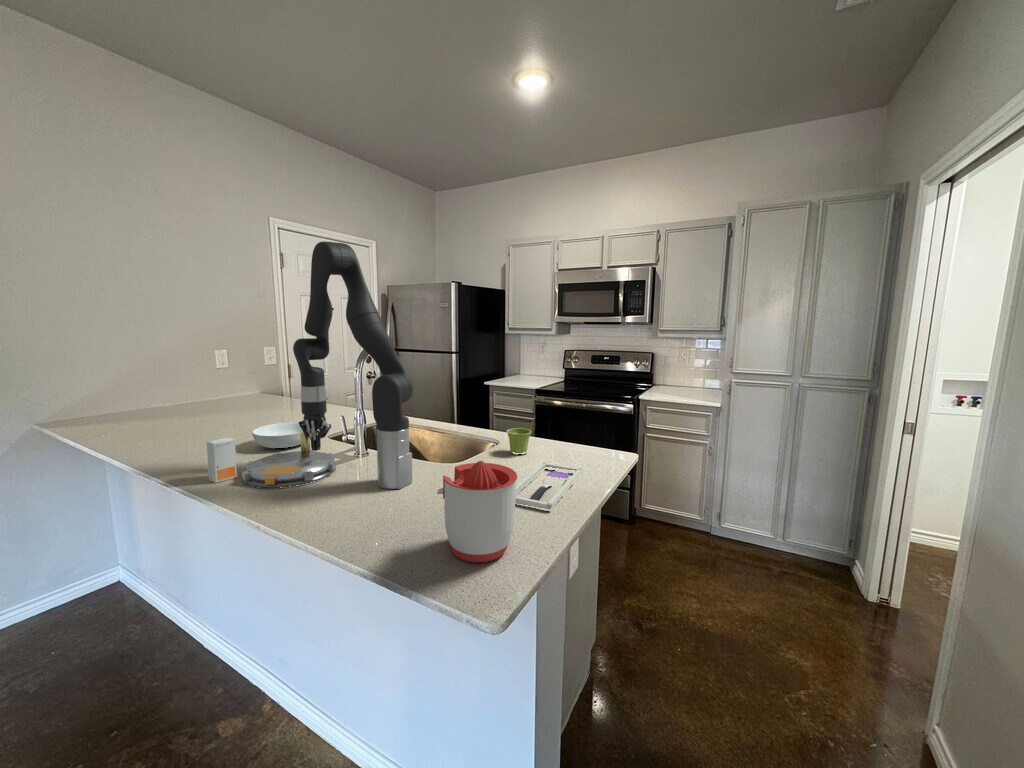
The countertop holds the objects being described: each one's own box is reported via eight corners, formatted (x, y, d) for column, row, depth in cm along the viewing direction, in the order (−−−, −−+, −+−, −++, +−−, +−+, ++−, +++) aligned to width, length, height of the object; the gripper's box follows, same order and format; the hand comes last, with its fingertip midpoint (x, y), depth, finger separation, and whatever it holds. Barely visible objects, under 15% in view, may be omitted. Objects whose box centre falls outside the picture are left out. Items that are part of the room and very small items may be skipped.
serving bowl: (268, 438, 171) (267, 421, 170) (322, 438, 173) (321, 421, 172) (241, 454, 150) (240, 435, 149) (303, 453, 153) (302, 435, 152)
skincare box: (215, 483, 123) (212, 444, 121) (208, 480, 125) (205, 441, 124) (238, 477, 128) (235, 439, 126) (231, 474, 130) (228, 437, 129)
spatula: (540, 509, 112) (540, 500, 112) (517, 504, 115) (517, 495, 115) (569, 480, 134) (569, 473, 133) (549, 477, 137) (550, 469, 136)
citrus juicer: (454, 525, 101) (454, 445, 98) (523, 538, 96) (526, 454, 93) (422, 560, 86) (421, 466, 84) (502, 576, 81) (504, 478, 79)
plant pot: (501, 453, 158) (501, 431, 157) (515, 448, 166) (515, 426, 165) (521, 458, 153) (522, 435, 152) (535, 452, 161) (536, 430, 160)
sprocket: (348, 456, 147) (347, 431, 146) (317, 485, 120) (316, 454, 119) (270, 455, 145) (268, 430, 144) (221, 484, 119) (219, 453, 118)
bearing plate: (353, 467, 140) (353, 464, 139) (282, 495, 116) (282, 491, 116) (298, 455, 150) (298, 452, 150) (223, 478, 127) (223, 475, 126)
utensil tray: (581, 474, 138) (582, 469, 138) (550, 512, 110) (550, 505, 109) (543, 468, 144) (543, 462, 143) (504, 502, 115) (504, 495, 115)
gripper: (337, 399, 139) (339, 450, 141) (308, 395, 144) (311, 444, 147) (318, 402, 132) (321, 456, 135) (289, 399, 137) (292, 450, 140)
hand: (315, 450), depth 141 cm, fingers closed
